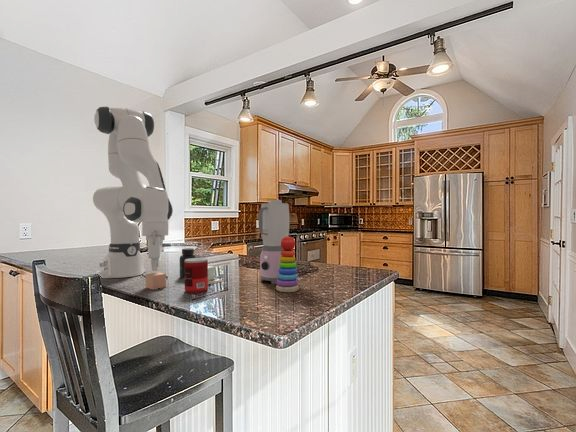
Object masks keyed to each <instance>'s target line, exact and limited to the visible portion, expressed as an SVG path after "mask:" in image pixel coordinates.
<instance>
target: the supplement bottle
mask: <svg viewBox="0 0 576 432" xmlns="http://www.w3.org/2000/svg"><path fill="white" fill-rule="evenodd" d="M181 254H182V255H180V256H179V262H178V263H179V278H180V279H183V278H185V271H184V262H185V260H186V259H190V258H197V256H196V255H195V250H194V248H190V247H189V248H182V249H181Z"/></svg>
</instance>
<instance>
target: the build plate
mask: <svg viewBox="0 0 576 432" xmlns="http://www.w3.org/2000/svg"><path fill="white" fill-rule="evenodd" d="M221 282H222V279H220V278H215V279H213V280H210V281H208V286H209V284H210V285H213V284H217V283H221Z"/></svg>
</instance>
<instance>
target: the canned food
mask: <svg viewBox="0 0 576 432" xmlns="http://www.w3.org/2000/svg"><path fill="white" fill-rule="evenodd" d="M208 266H209V263H208V258H206V257H196V258H190V259H186V260H185V262H184V271H185V279H184V290H185V293H187V294H200V293H201V292H202V293H205V292H206V291H208V288H209V285H208Z"/></svg>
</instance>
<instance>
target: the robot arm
mask: <svg viewBox="0 0 576 432" xmlns="http://www.w3.org/2000/svg"><path fill="white" fill-rule="evenodd" d="M93 119H94V120H93V121H94V124H95V126H96V129H97V130H98V132H100V133H103V134H106V135H109V136H108V140H107V141H108V143H107V158H108V159H107V160H108V172H109V173H110V174H111V175H112V176H113V177H115V178H117V179H119V180H120V182H121V185H122V186H106V187H102V188H98V189H96V190H95V192H94V193H93V194H92V195H93V196H92V201H93V202H92V203H93V205H94V207H95V208H96V209H97V210H99V211H100V212H101V213H102V214H103V215H104V216H105V218H106V219H107V222H108V225H109V231H110V232H109V233H110V243H109V245H108V253H107V254H106V256H105V257H104V258H103V259H102V260H101V261H100V262H99V267H100V268H101V270H97V271H96V272H95V275H97V274H99V275H100V276H101V277H100V276H99V277H100V278H102V279H113V278H114V279H119V278H120V279H121V278H130V277H137V276H139V275H143V274H144V273H146V272H147V269H145V266H144V255H143V253H141V252H140V250H141V243H140V231H139V230H140V228H139V227H140V226H139V225H138V224H137V223H141V236H143V237H145V241H148V242H147V243H148V246H147V247H148V248H147V249H148V250H147V256H148V257H147V258H148V259H150V263H151V271H152V272H156V271H158V268H159V263H160V262H159V261H160V258H161V255H162V252H163V251H162V250H163V243H164V241H165V239H166V238H165V237H166V236H169V220H170V219H171V217H172V216H173V212H174V211H173V205H172V203H171V201H170V199H169V195H168V192H167V189H166V185H165V181H164V177H163V174H162V171H161V168H160V165H159V163H158V162H157V161H156V159H155V157H154V156H153V154H152V151H151V148H150V143H149V137H151V135H153V133H154V130H155V122H154V118H153V116H152V114H151V113H148V112H146V111H140V110H136V109H131V108H122V107H109V106H99V107H98V108H97V109H96V110H95V114H94V118H93ZM139 173H140V174H142V175H143V176H144V177H145V178H146V180H147V182H148V185H146V184H145V183H144V181H143V180H142V178H141V176H140V174H139Z"/></svg>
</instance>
